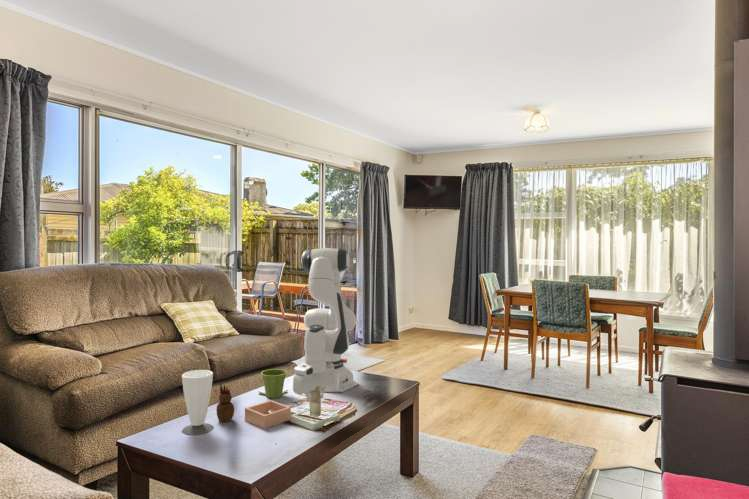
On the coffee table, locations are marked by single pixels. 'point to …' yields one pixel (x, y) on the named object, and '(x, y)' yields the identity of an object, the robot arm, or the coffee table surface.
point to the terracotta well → (264, 420)
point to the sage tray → (313, 425)
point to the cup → (197, 400)
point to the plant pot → (274, 382)
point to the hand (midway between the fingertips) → (315, 399)
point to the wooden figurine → (225, 405)
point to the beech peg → (315, 402)
